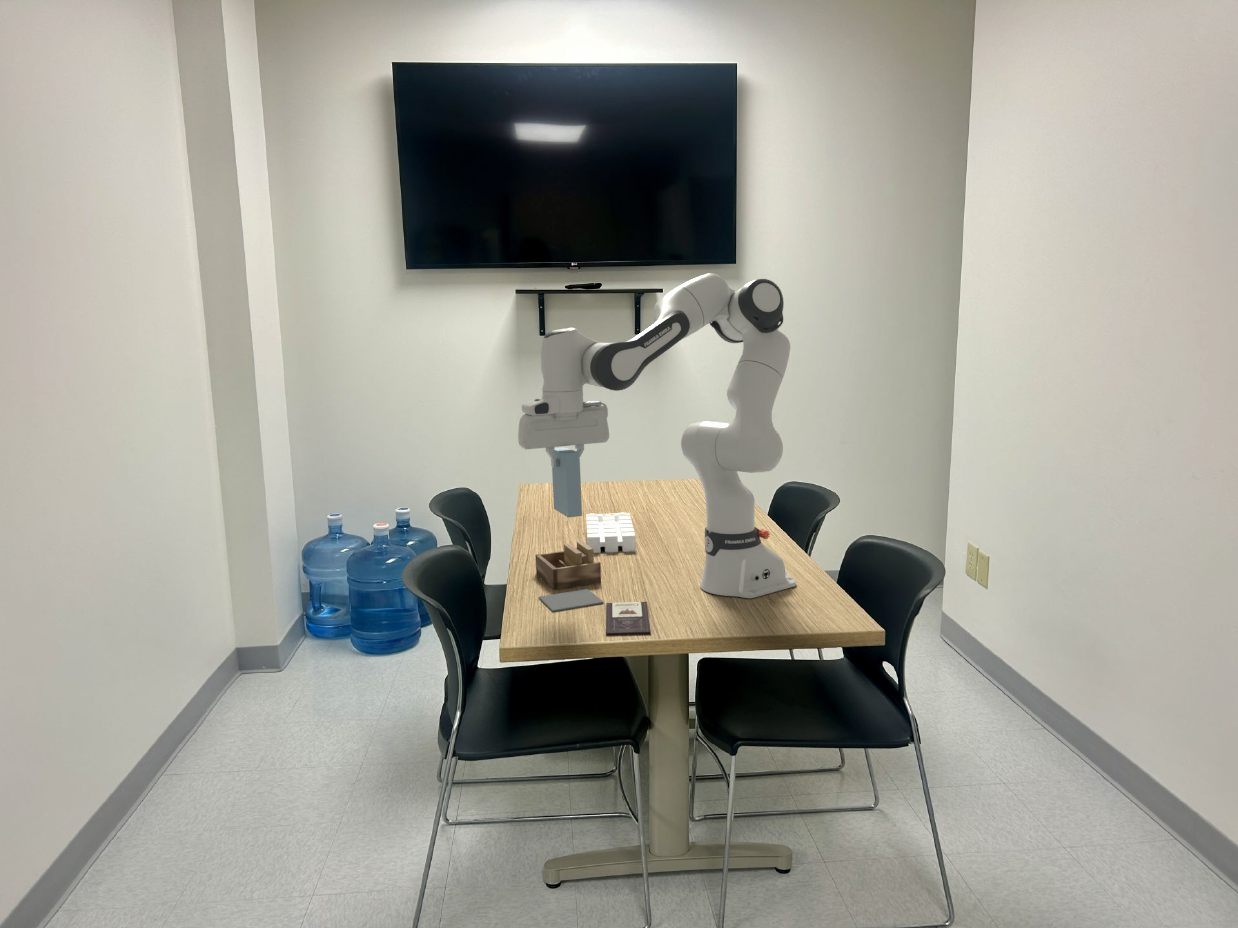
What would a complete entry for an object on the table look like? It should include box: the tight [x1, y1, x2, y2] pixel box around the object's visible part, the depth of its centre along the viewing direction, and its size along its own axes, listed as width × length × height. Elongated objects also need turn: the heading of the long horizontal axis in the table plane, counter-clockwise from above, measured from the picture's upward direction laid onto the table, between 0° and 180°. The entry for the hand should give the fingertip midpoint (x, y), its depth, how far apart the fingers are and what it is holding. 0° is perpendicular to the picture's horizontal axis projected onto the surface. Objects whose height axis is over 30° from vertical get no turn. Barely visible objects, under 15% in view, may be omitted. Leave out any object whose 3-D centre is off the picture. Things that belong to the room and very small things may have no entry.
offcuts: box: [563, 540, 595, 566], centre depth 203 cm, size 4×10×6 cm, turn 23°
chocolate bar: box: [605, 601, 652, 637], centre depth 174 cm, size 9×1×18 cm
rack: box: [535, 550, 602, 591], centre depth 202 cm, size 12×14×5 cm
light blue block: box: [551, 446, 583, 518], centre depth 182 cm, size 3×10×14 cm, turn 23°
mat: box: [538, 588, 605, 613], centre depth 186 cm, size 12×10×1 cm
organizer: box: [585, 511, 637, 554], centre depth 241 cm, size 13×5×35 cm
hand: (565, 465), depth 182 cm, fingers closed on light blue block, 3 cm apart
